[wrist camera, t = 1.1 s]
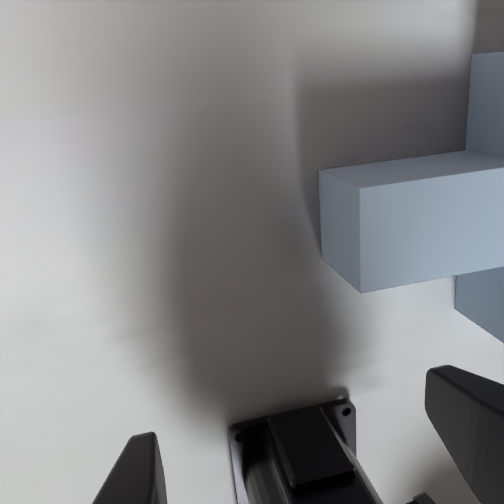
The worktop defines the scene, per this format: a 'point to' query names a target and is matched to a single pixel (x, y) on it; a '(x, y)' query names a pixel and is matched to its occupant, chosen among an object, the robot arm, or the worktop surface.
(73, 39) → the worktop surface
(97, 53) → the worktop surface
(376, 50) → the worktop surface
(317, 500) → the robot arm
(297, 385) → the worktop surface
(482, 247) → the t block
